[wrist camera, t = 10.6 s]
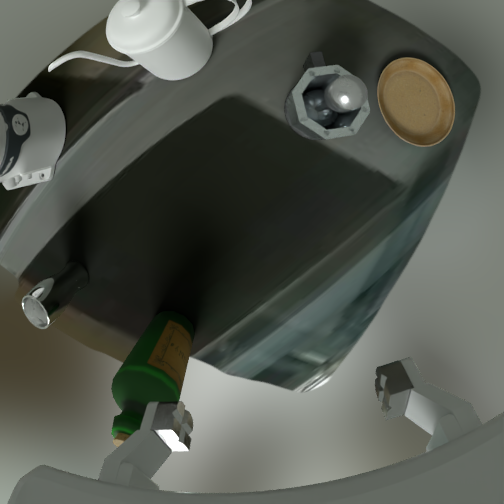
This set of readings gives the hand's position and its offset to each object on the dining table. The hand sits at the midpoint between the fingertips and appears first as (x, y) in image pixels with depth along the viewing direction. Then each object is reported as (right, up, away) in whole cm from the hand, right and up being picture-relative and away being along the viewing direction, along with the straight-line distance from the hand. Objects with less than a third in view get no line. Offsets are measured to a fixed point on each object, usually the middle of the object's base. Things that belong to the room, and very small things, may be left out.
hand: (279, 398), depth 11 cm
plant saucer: (+25, +30, +27) cm, 48 cm away
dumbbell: (+8, +26, +26) cm, 38 cm away
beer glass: (-36, +1, +42) cm, 55 cm away
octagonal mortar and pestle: (+8, +27, +29) cm, 40 cm away
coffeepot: (-13, +37, +26) cm, 47 cm away
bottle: (-16, -9, +45) cm, 48 cm away
